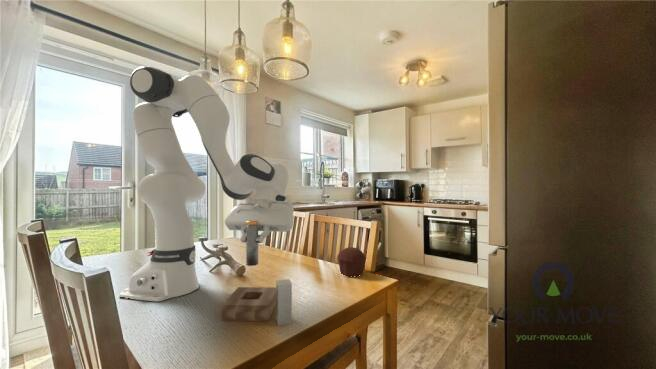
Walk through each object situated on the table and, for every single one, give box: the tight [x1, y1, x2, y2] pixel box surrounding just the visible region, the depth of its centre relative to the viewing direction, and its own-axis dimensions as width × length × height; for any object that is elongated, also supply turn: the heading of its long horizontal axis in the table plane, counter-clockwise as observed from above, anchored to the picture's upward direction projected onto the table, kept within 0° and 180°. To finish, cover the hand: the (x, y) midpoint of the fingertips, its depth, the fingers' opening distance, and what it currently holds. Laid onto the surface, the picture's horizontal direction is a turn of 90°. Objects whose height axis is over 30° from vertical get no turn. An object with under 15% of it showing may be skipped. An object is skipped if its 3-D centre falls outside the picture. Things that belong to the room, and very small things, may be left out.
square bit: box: [275, 278, 293, 327], centre depth 68 cm, size 3×3×10 cm
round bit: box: [245, 220, 259, 267], centre depth 74 cm, size 3×3×12 cm
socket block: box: [221, 286, 276, 322], centre depth 74 cm, size 12×12×4 cm
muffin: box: [336, 246, 367, 278], centre depth 104 cm, size 12×11×10 cm
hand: (251, 241), depth 73 cm, fingers closed on round bit, 3 cm apart
